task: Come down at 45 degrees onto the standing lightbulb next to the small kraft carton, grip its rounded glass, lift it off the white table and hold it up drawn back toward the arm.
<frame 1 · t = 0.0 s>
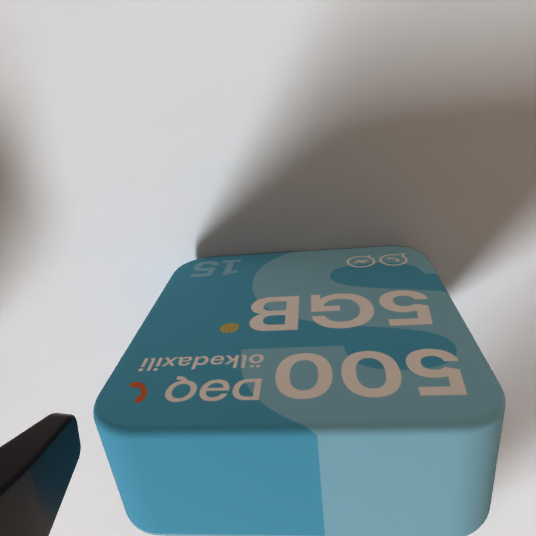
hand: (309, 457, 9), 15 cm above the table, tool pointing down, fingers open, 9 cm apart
data package: (300, 287, 24), on the table
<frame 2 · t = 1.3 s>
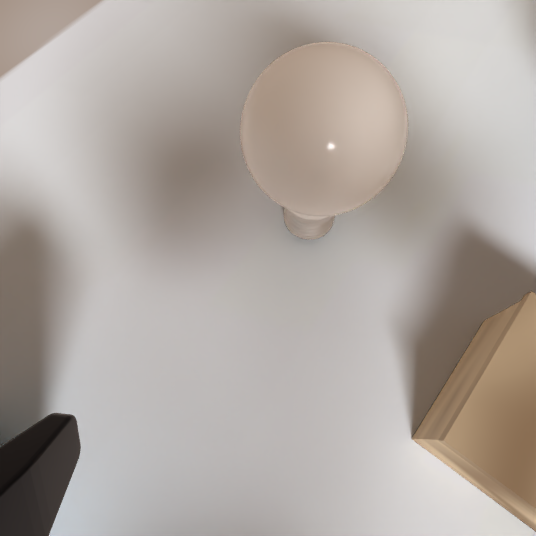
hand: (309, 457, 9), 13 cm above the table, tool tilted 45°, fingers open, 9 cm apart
lightbulb: (307, 223, 25), on the table
kraft carton: (515, 423, 21), on the table
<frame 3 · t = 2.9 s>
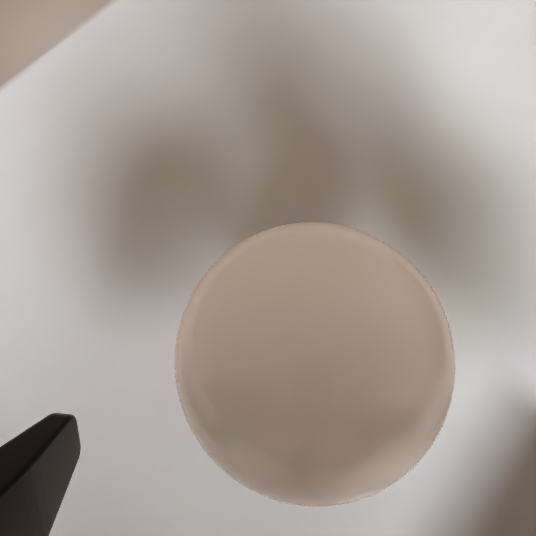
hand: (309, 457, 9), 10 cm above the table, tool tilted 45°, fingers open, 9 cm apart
lightbulb: (295, 387, 18), on the table
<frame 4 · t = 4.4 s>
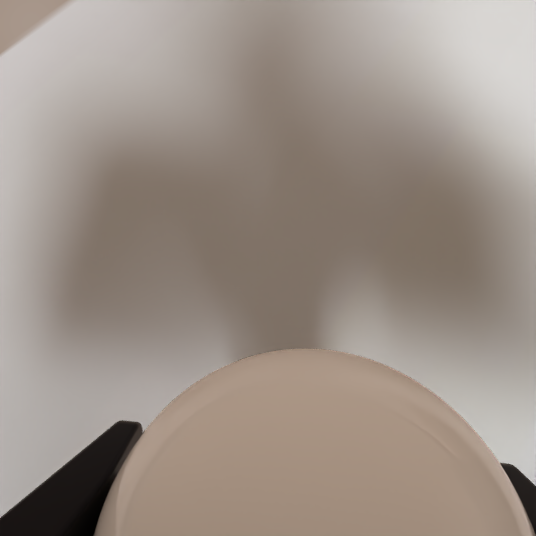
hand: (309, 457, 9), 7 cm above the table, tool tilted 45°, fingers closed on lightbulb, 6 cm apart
lightbulb: (290, 491, 14), on the table, touching gripper
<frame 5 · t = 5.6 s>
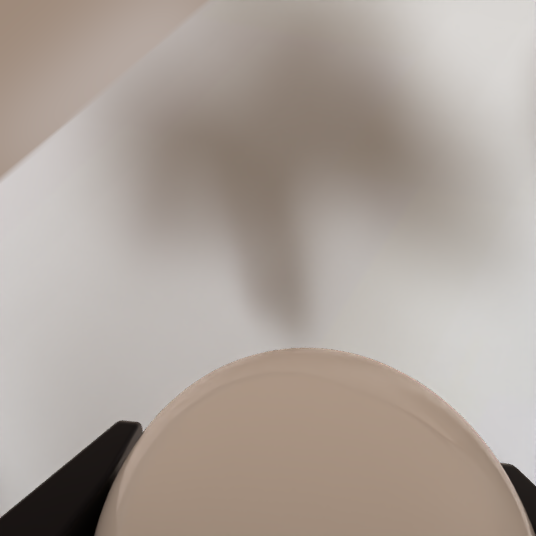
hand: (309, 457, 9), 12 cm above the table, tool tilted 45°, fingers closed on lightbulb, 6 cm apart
lightbulb: (290, 489, 14), point 6 cm above the table, touching gripper
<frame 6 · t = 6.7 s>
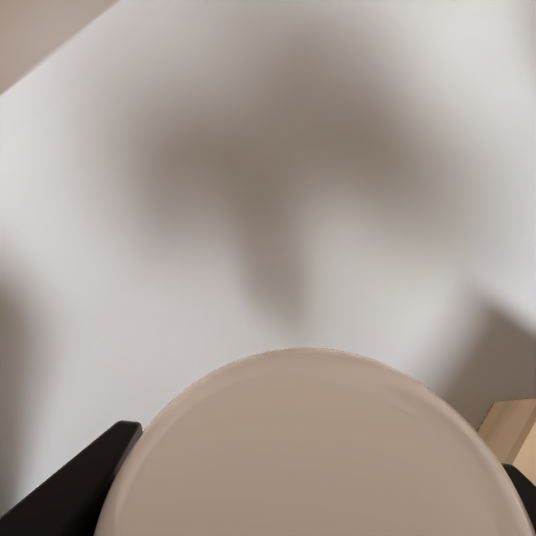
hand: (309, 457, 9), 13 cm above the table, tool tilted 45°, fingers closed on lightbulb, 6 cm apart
lightbulb: (290, 490, 14), point 6 cm above the table, touching gripper
kraft carton: (529, 521, 19), on the table
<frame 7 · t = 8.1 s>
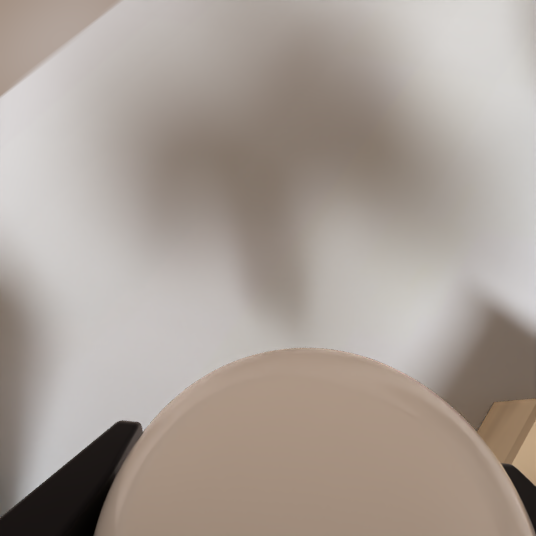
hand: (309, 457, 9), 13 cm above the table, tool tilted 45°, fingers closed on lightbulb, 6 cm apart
lightbulb: (290, 490, 14), point 6 cm above the table, touching gripper
kraft carton: (528, 521, 19), on the table
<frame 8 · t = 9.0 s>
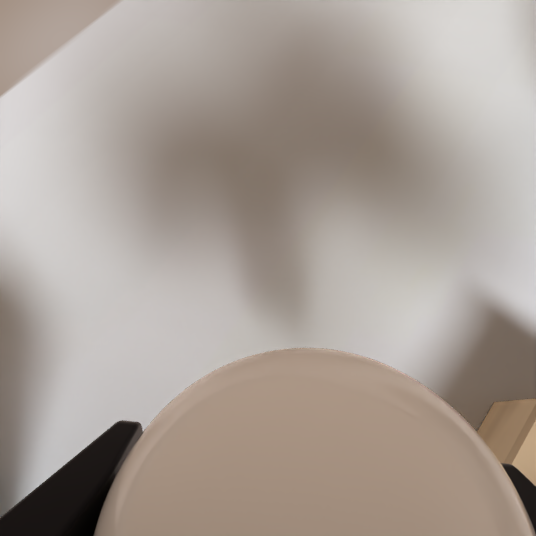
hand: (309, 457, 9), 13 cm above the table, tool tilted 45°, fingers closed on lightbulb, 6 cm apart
lightbulb: (290, 490, 14), point 6 cm above the table, touching gripper
kraft carton: (528, 521, 19), on the table
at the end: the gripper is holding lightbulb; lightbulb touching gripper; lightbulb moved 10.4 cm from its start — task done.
